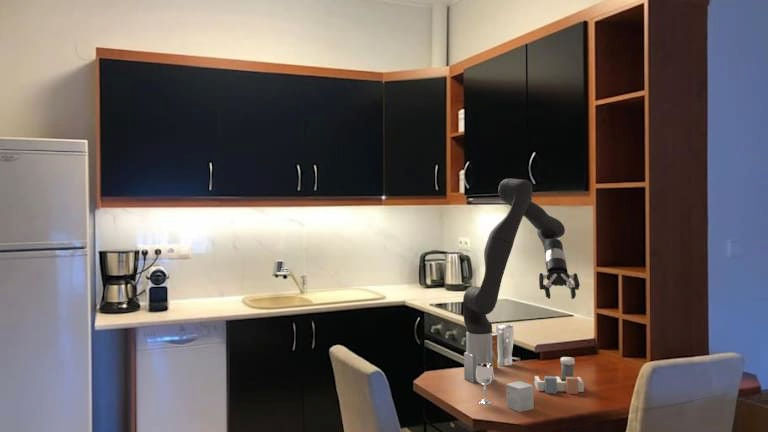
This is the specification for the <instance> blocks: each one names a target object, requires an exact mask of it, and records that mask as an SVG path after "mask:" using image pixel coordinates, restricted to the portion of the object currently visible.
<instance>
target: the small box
mask: <svg viewBox="0 0 768 432" xmlns="http://www.w3.org/2000/svg"><path fill="white" fill-rule="evenodd" d="M497 360H498V335H497V334H496V333H493V332H492V367H493V370H494V369H497V368H498V364H497Z"/></svg>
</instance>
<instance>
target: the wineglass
mask: <svg viewBox="0 0 768 432" xmlns="http://www.w3.org/2000/svg"><path fill="white" fill-rule="evenodd" d="M494 379H495V371H494V369H493V367H492V364H489V363H479V364H478V365H477V369H476V380H477V381H478V382H477V383H479V384H480V385H483V395H484V397H483V399H480V400H478V401H477V403H478V402H479V403H478V404H480V403H481V404H480V405H485V404H486V405H491V404H492V403H493V401H492V400H489V399H487V395H486V393H487V386H489V385H491V384H492V383H493V382H494Z"/></svg>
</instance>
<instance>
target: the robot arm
mask: <svg viewBox="0 0 768 432" xmlns="http://www.w3.org/2000/svg"><path fill="white" fill-rule="evenodd" d="M532 195H533V184H532V183H531V181H529V180H527V179H519V178H505V179H503V180H502V181H500V183H499V185H498V196H499V198H500V200H502V201H503V202H504V203H506V204H507V205H509V206H510V208H509V210H508V212H507V213H506V215H505V216H504V217H503V218H502V220H501V221H500V222H498V223H497V224H496V225H495V226H494V227H493V228H492V230H490V233H489V235H488V237H487V240H486V243H485V247H484V251H483V255H484V256H483V257H484V276H483V278H482V282H481V284H480V286H477V285H476V286H475V285H473V286H470V287H468V288H467V289H466V290H465V292H464V294H463V298H462V306H463V307H462V308H463V309H462V310H463V323H464V326H465V330H466V331H465V332H466V335H465V336H466V343H465V344H466V347H465V348H466V351H465V352H464V353H463V359H464V360H463V364H464V365H463V366H464V367H463V368H464V369H463V372H464V373H463V375H464V376H463V377H464V379H465V380H467V381H469V382H471V383H478V381H477V380H476V369H477V365H478V364H479V363H489V364H492V333H493V325H492V323H491V322H490V321H489V319H488V318H487V317H488V316H487V315H489V314H490V313H492V312H493V311H494V309H495V308H496V305H497V302H498V298H499V293H500V289H501V285H502V284H501V283H502V280H503V276H504V273H505V270H506V267H507V264H508V261H509V257H510V256H511V253H512V250H513V246H514V243H515V239H516V238H517V237H516V236H517V234H518V230H519V228H520V225H521V223H522V220H523V217H525V218H526V219H527V221H529V223H530V224H531V225H532V226H533V227H534V228H535V229H536V230H537V233H536V234H537V237H538V238H539V240H540V241H541V243H542V245H543V249H544V256H545V257H544V261H545V262H544V264H545V269H546V274H543V273H542V272H541V273H539V275H538V282H539V283H538V285H539V290H544V292H545V297H546V298H547V299H549V300H550V299H551V291H550V289H551V288H552V286H554V287H557V286H559V287H565V288H566V289H569V290H570V298H571V300H574V299H575V298H576V295H577V294H576V293H577V292H576V291H578V290H580V286H581V285H580V280H579V277H578V274H577V273H576V272H574V273H573V274H569V272H568V267H567V261H566V256H565V253H564V247H563V243H562V240H561V239H559V238H561V237H563V236H564V234H566V233H565V231H566V230H565V225H564V224H563V223H562V221H560V220H559V219H557V218H555V217H553V216H551V215H549V214H548V213H547V212H546V211H545V209H544V208H542V207H541V206H540V205H538V204H537V203H536V202H533V201H531V198H532ZM545 280H547V282H546V284H544V281H545ZM572 282H573V283H572Z"/></svg>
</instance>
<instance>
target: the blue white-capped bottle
mask: <svg viewBox="0 0 768 432" xmlns="http://www.w3.org/2000/svg"><path fill="white" fill-rule="evenodd" d="M575 363H576V361H575V358H574V357H572V356H571V357H570V356H562V357H560V364H561V378H560V379H561V381H563V382H566V377H575V376H574V374H575V373H574V371H575V370H574V369H575V368H574V367H575Z"/></svg>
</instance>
